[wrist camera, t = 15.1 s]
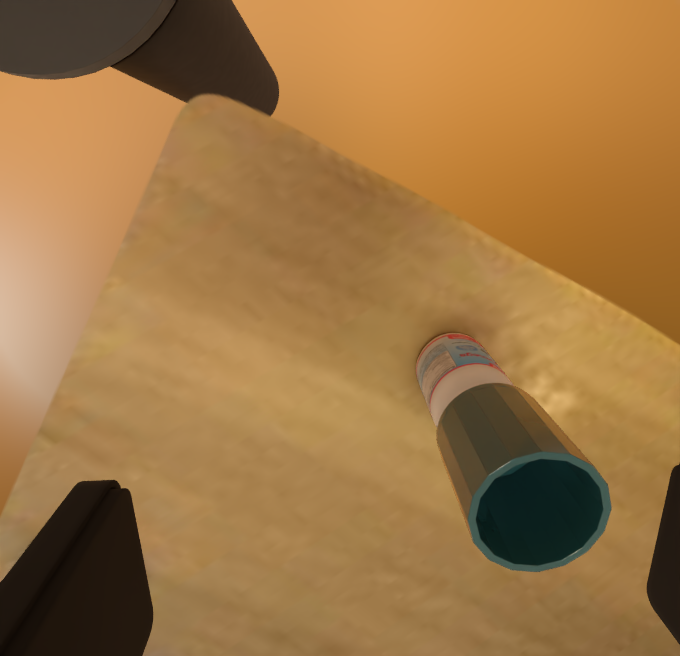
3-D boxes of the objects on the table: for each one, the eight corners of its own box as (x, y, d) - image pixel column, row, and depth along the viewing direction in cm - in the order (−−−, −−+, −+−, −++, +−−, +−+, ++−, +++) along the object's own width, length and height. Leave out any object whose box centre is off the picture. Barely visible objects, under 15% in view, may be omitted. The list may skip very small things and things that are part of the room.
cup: (416, 451, 32) (442, 539, 24) (474, 364, 30) (521, 429, 22) (504, 493, 33) (555, 590, 25) (564, 411, 31) (639, 489, 23)
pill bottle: (500, 358, 42) (557, 421, 31) (452, 410, 43) (491, 487, 33) (446, 316, 41) (486, 367, 30) (399, 371, 42) (421, 438, 32)
